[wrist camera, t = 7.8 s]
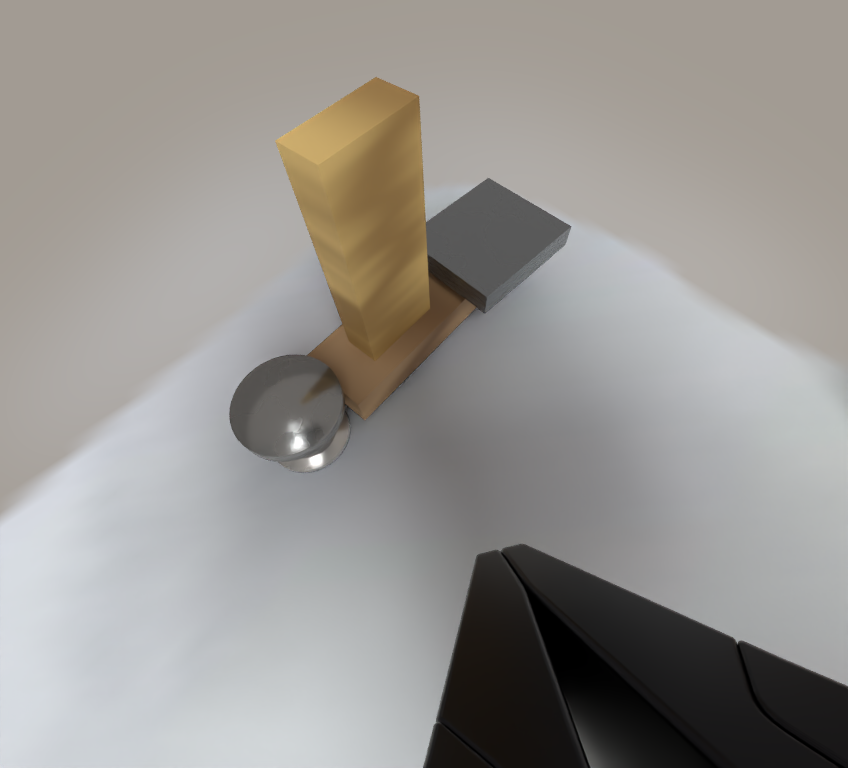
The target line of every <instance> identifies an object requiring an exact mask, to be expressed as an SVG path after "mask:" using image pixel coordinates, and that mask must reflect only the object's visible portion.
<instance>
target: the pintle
mask: <svg viewBox="0 0 848 768" xmlns="http://www.w3.org/2000/svg"><path fill="white" fill-rule="evenodd" d="M230 423H231V427H232V430H233V432H234V434H235V436H236V437H237V439H238V440H239V441H240V442H241V443H242V445H244V446H245V447H246V448H248V449H249V450H250V451H251V452H253V453H254V454H255V455H257V456H259V457H261V458H264V459H266V460H270V461H276V462H278V463H279V464H281V465H282V466H283V467H285V468H287V469H289V470H291V471H295V472H301V473H307V472H314V471H318V470H321V469H323V468H325V467H327V466H328V465H330V464H331V463H333V462H334V461H335V460H336V459H337V458H338V457H339V456H340V455H341V454H342V452H343V451H344V449H345V447H346V445H347V443H348V440H349V436H350V422H349V418H348V416H347V414H346V412H345V396H344V392H343V389H342V387H341V385H340V383H339V380H338V378H337V377H336V375H335V373H334V372H333V371H332V370H331V368H330V367H328V366H327V365H326V364H325V363H323V362H322V361H320V360H318V359H316V358H313V357H310V356H305V355H286V356H281V357H277V358H274V359H271V360H269V361H267V362H265V363H263V364H261V365H260V366H258V367H257V368H255V369H254V370H253V371H251V372H250V373H249V374H248V375H247V376H246V377H245V378H244V379H243V381H242V382H241V383H240V385H239V386H238V388H237V389H236V391H235V393H234V396H233V398H232V401H231V406H230Z"/></svg>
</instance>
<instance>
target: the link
mask: <svg viewBox="0 0 848 768" xmlns="http://www.w3.org/2000/svg"><path fill="white" fill-rule="evenodd" d="M419 105H420V104H419V96H418V95H416V94H414V93H411V92H409V91H407V90H404V89H402V88H399V87H397V86H395V85H393V84H391V83H388V82H386V81H384V80H381V79H379V78H377V77H375V78H374V79H372V80H371V81H369V82H367V83H366V84H364V85H363V86H361V87H359V88H358V89H357V90H355V91H353V92H352V93H350V94H349V95H347V96H345V97H344V98H342V99H341V100H339V101H337V102H336V103H334V104H333V105H331V106H330V107H328V108H326V109H325V110H323V111H322V112H320V113H318V114H317V115H315V116H314V117H312V118H310V119H309V120H307V121H306V122H304V123H303V124H301V125H299V126H298V127H296V128H295V129H293V130H292V131H290V132H288V133H287V134H285V135H284V136H282V137H280V138H279V139H277V140H276V144H277V147H278V150H279V152H280V155H281V158H282V160H283V163H284V166H285V168H286V171H287V174H288V177H289V180H290V182H291V185H292V188H293V190H294V193H295V196H296V198H297V201H298V204H299V207H300V210H301V212H302V215H303V217H304V220H305V223H306V226H307V228H308V231H309V234H310V237H311V239H312V242H313V245H314V248H315V250H316V253H317V256H318V259H319V261H320V264H321V267H322V269H323V272H324V275H325V278H326V280H327V283H328V286H329V288H330V291H331V294H332V297H333V299H334V302H335V305H336V308H337V310H338V313H339V316H340V318H341V321H342V325H341V326H340V327H339V328H338V329H336V330H335V331H334V332H333V333H332V334H331V335H330V336H329V337H327V338H326V339H325V340H324V341H323V342H322V343H321V344H319V345H318V346H317V347H316V348H315V349H314V350H313V351H312V352H310V353H309V354H308V355H307V356H310V357H313V358H316V359H318V360H320V361H322V362H323V363H325V364H326V365H327V366H328V367H330V368H331V370H332V371H333V372H334V373H335V375H336V377H337V378H338V380H339V383H340V385H341V387H342V389H343V392H344V396H345V404H346V405H347V406H348V407H349V408H351V409H352V410H353V411H354V412H355V413H357V414H358V415H359V416H360V417H361V418H363V419H364V420H366V419H367V418H368V417H369V416H370V415H371V414H372V413H373V412H374V411H375V410H376V409H377V408H378V407H379V406H380V405H381V404H382V403H383V402H384V401H385V400H386V399H387V398H388V397H389V396H390V395H391V393H392V392H393V391H394V390H395V389H396V388H397V387H398V386H399V385H400V384H401V383H402V382H403V381H404V380H405V379H406V378H407V377H408V376H409V375H410V374H411V373H412V372H413V371H414V370H415V369H416V368H417V367H418V366H419V365H420V364H421V363H422V362H423V361H424V360H425V359H426V358H427V357H428V356H429V355H430V354H431V353H432V352H433V351H434V350H435V349H436V348H437V347H438V346H439V345H440V344H441V343H442V342H443V341H444V340H445V339H446V338H447V337H448V336H449V335H450V334H451V333H452V332H453V331H454V330H455V329H456V328H457V327H458V326H459V325H460V324H461V323H462V322H463V321H464V320H465V319H466V318H467V317H468V315H469V314H470V313H471V312H472V311H473V310H474V309H475V308H476V307H475V306H474V305H473V304H471V303H470V302H469V301H467V300H466V299H465V298H463V297H462V296H461V295H459V294H458V293H457V292H455V291H454V290H453V289H451V288H450V287H449V286H447V285H446V284H445V283H443V282H442V281H441V280H439V279H438V278H437V277H435V276H434V275H433V274H431V273H430V272H429V271H428V258H427V239H426V219H425V200H424V181H423V164H422V163H423V162H422V144H421V143H422V142H421V123H420V106H419Z"/></svg>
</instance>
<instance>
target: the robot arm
mask: <svg viewBox="0 0 848 768" xmlns="http://www.w3.org/2000/svg"><path fill="white" fill-rule="evenodd" d="M423 768H848V686H846V685H844V684H841V683H839V682H837V681H834V680H832V679H830V678H827V677H825V676H823V675H820V674H818V673H816V672H813V671H811V670H809V669H806V668H804V667H801V666H799V665H797V664H794V663H792V662H790V661H787V660H785V659H783V658H780V657H778V656H776V655H774V654H771V653H769V652H767V651H765V650H762V649H760V648H758V647H756V646H753V645H751V644H749V643H747V642H744V641H739V642H738V645H737V642H736V640H735V639H734V638H733V637H731V636H728V635H726V634H724V633H722V632H719V631H717V630H715V629H713V628H711V627H708V626H706V625H704V624H702V623H699V622H697V621H695V620H693V619H690V618H688V617H686V616H684V615H681V614H679V613H677V612H675V611H673V610H670V609H668V608H666V607H664V606H661V605H659V604H657V603H655V602H652V601H650V600H648V599H646V598H644V597H641V596H639V595H637V594H635V593H632V592H630V591H628V590H626V589H623V588H621V587H619V586H617V585H615V584H612V583H610V582H608V581H606V580H603V579H601V578H599V577H597V576H594V575H592V574H590V573H588V572H585V571H583V570H581V569H579V568H577V567H574V566H572V565H570V564H568V563H565V562H563V561H561V560H559V559H556V558H554V557H552V556H550V555H548V554H545V553H543V552H541V551H539V550H536V549H534V548H532V547H530V546H527V545H525V544H518V545H514V546H510V547H506V548H503V549H502V550H501V552H500V551H498V550H494V551H490V552H486V553H482V554H478V555H477V557H476V560H475V564H474V568H473V572H472V576H471V580H470V584H469V588H468V592H467V596H466V600H465V604H464V608H463V612H462V616H461V620H460V625H459V629H458V633H457V637H456V641H455V645H454V649H453V653H452V657H451V661H450V665H449V669H448V673H447V677H446V681H445V685H444V689H443V693H442V697H441V701H440V705H439V710H438V714H437V718H436V724H435V725H434V727H433V730H432V734H431V738H430V743H429V747H428V751H427V755H426V758H425V762H424V766H423Z"/></svg>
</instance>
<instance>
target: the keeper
mask: <svg viewBox="0 0 848 768" xmlns="http://www.w3.org/2000/svg"><path fill="white" fill-rule="evenodd" d="M570 229H571V226H570V225H568V224H566V223H564V222H563V221H561V220H559V219H558V218H556V217H554V216H552V215H551V214H549V213H547V212H546V211H544V210H542V209H541V208H539V207H537V206H535V205H534V204H532V203H530V202H529V201H527V200H525V199H523V198H522V197H520V196H518V195H517V194H515V193H513V192H512V191H510V190H508V189H506V188H505V187H503V186H501V185H500V184H498V183H496V182H494V181H493V180H491V179H489V178H488V179H486V180H485V181H483V182H482V183H481V184H479V185H478V186H476V187H475V188H474V189H472V190H471V191H469V192H468V193H467V194H465V195H464V196H462V197H461V198H460V199H458V200H457V201H455V202H454V203H453V204H451V205H450V206H448V207H447V208H446V209H444V210H443V211H441V212H440V213H439V214H437V215H436V216H434V217H433V218H432V219H430V220H429V221H427V222H426V239H427V258H428V271H429V272H430V273H431V274H433V275H434V276H435V277H437V278H438V279H439V280H441V281H442V282H443V283H445V284H446V285H447V286H449V287H450V288H451V289H453V290H454V291H455V292H457V293H458V294H459V295H461V296H462V297H463V298H465V299H466V300H467V301H469V302H470V303H471V304H473V305H474V306H475V307H477V308H478V309H479V310H481V311H482V312H483V313H486V312H487V311H488V310H490V309H491V308H492V307H493V306H494V305H495V304H497V303H498V302H499V301H500V300H501V299H502V298H504V297H505V296H506V295H507V294H508V293H509V292H511V291H512V290H513V289H514V288H515V287H516V286H518V285H519V284H520V283H521V282H522V281H523V280H525V279H526V278H527V277H528V276H529V275H530V274H532V273H533V272H534V271H535V270H536V269H538V268H539V267H540V266H541V265H542V264H543V263H545V262H546V261H547V260H548V259H549V258H550V257H552V256H553V255H554V254H555V253H556V252H557V251H559V250H560V249H561V248H562V247H563V246H564V245H565V244H566V241H567V238H568V235H569V232H570Z"/></svg>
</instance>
